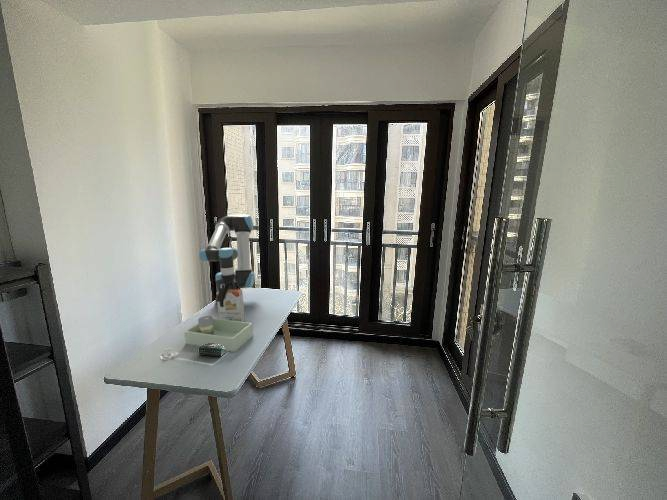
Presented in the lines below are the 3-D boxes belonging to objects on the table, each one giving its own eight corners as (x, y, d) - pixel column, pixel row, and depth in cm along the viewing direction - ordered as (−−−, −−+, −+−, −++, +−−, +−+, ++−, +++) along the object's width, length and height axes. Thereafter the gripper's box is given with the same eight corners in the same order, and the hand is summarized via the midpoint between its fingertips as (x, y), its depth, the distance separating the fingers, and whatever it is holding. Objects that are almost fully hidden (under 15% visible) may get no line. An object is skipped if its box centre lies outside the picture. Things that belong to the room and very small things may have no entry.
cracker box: (218, 324, 168) (215, 292, 164) (223, 320, 174) (219, 288, 170) (241, 324, 168) (238, 292, 164) (245, 320, 174) (242, 288, 170)
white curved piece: (181, 356, 136) (180, 349, 135) (162, 363, 131) (161, 355, 130) (176, 349, 143) (175, 342, 142) (158, 355, 137) (157, 348, 136)
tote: (209, 329, 163) (207, 317, 161) (253, 335, 155) (252, 323, 153) (185, 344, 146) (184, 331, 145) (234, 352, 138) (232, 338, 137)
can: (206, 333, 157) (204, 315, 155) (217, 334, 155) (215, 316, 153) (197, 339, 150) (195, 320, 148) (208, 341, 148) (206, 322, 146)
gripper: (235, 268, 178) (237, 299, 182) (207, 279, 154) (211, 314, 158) (245, 268, 176) (247, 300, 180) (219, 280, 152) (222, 316, 156)
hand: (230, 307), depth 169 cm, fingers open, 13 cm apart
